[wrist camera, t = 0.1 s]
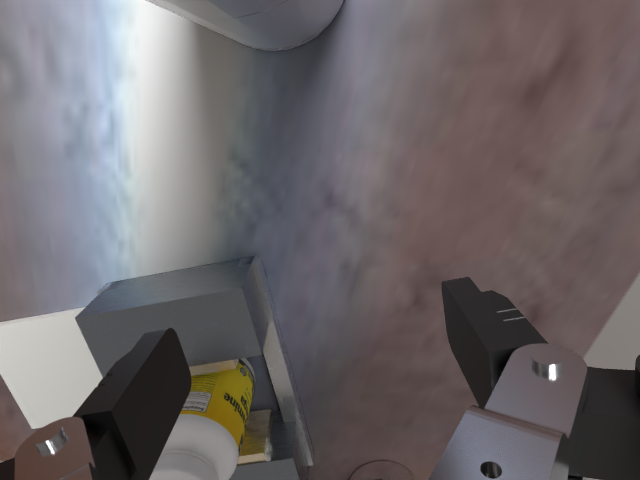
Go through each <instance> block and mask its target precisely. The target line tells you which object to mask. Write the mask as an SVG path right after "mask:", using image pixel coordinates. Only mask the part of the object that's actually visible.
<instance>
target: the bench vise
mask: <svg viewBox="0 0 640 480" xmlns="http://www.w3.org/2000/svg"><path fill="white" fill-rule="evenodd" d="M75 320H76V322H77V324H78V326H79V328H80V331H81V333H82V335H83V337H84V339H85V341H86V343H87V345H88V348H89V350H90V352H91V354H92V356H93V358H94V360H95V362H96V364H97V367H98V369H99V371H100V373H101V375H102V377H106V374H107V372H108V371H109V370H110V369H111V367H112V366H113V365H114V364H115V362H117V361H118V360H119V359H121V358H122V357H123V356H124V355H126V354H127V353H128V352H130V351H131V350H132V349H133V347H134V346H135V345H136V343H137V342H138V341H139V340H140V338H141V337H142V336H143V334H144V333H146V332H149V331H154V330H160V329H166V328H173V329H174V330H175V331H176V333H177V335H178V338H179V341H180V344H181V346H182V349H183V352H184V355H185V358H186V360H187V363H188V366H189V369H190V372H191V376H194V375H200V374H207V373H213V372H219V371H225V370H231V369H236V368H237V364H238V361H239V359H241V358H247V357H253V356H259V355H262V353H264V357H265V360H266V363H267V367H268V370H269V374H270V377H271V380H272V384H273V387H274V390H275V394H276V397H277V400H278V404H279V407H280V411H275V412H272V410H271V409H266V410H259V411H253V412H249V415H248V419H247V424H246V428H245V433H244V437H243V443H242V446H241V450H240V454H239V458H238V462H237V465H236V468H235V471H234V473H233V474H232V476H231V477H230V479H229V480H308V473H309V466H310V465H313V461H314V450H313V447H312V443H311V439H310V436H309V432H308V428H307V425H306V421H305V417H304V414H303V410H302V406H301V403H300V399H299V396H298V392H297V388H296V385H295V381H294V377H293V374H292V370H291V366H290V363H289V359H288V355H287V352H286V348H285V344H284V341H283V337H282V333H281V330H280V326H279V322H278V319H277V315H276V312H275V308H274V304H273V301H272V297H271V293H270V290H269V286H268V282H267V279H266V275H265V271H264V268H263V264H262V260H261V257H260V255H258V256H252V257H247V258H242V259H236V260H231V261H225V262H220V263H214V264H209V265H203V266H198V267H193V268H187V269H182V270H176V271H171V272H165V273H160V274H155V275H149V276H144V277H138V278H133V279H127V280H122V281H116V282H111V283H107V284H106V285H105V286H103V287H102V288H101V289H100V290H99V291H98V296H97V297H96V298H95V299H94V300H93V301H92V302H91V303H90V304H89V305H88V306H87V307H85V308H84V309H83V310H82V311H81V312H80V313H79V314H78V315H77V316H76V317H75Z"/></svg>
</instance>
